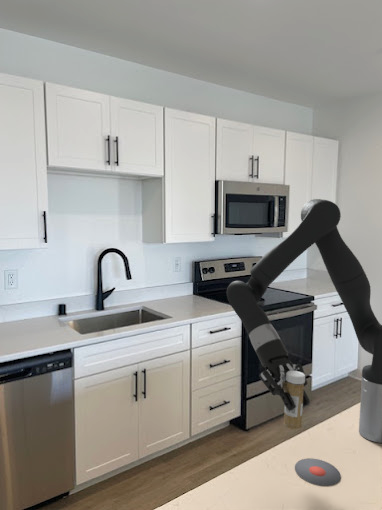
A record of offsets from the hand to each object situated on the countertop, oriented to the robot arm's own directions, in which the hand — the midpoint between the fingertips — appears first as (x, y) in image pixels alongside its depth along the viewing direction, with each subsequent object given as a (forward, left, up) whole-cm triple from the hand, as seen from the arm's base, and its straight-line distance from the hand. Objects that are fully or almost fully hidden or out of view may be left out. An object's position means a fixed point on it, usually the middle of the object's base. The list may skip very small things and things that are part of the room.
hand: (299, 406), depth 94 cm
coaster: (-6, +2, -17) cm, 18 cm away
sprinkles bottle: (0, -2, -6) cm, 6 cm away
